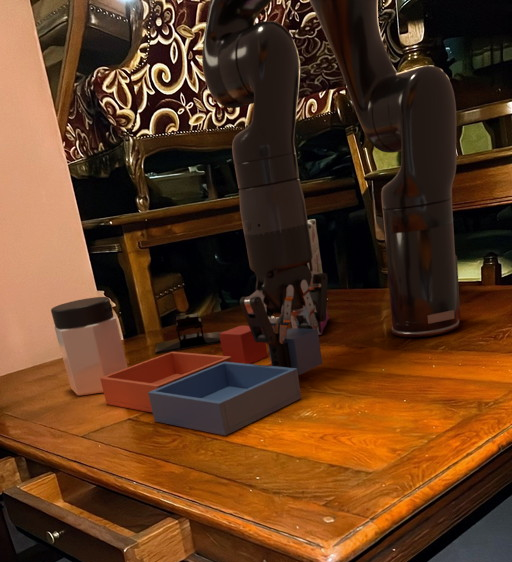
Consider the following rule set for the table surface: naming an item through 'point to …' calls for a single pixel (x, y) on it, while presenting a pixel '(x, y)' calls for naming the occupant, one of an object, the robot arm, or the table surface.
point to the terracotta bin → (153, 377)
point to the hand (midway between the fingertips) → (297, 365)
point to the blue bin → (225, 396)
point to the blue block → (303, 349)
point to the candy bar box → (314, 270)
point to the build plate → (188, 340)
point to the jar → (88, 342)
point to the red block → (242, 345)
